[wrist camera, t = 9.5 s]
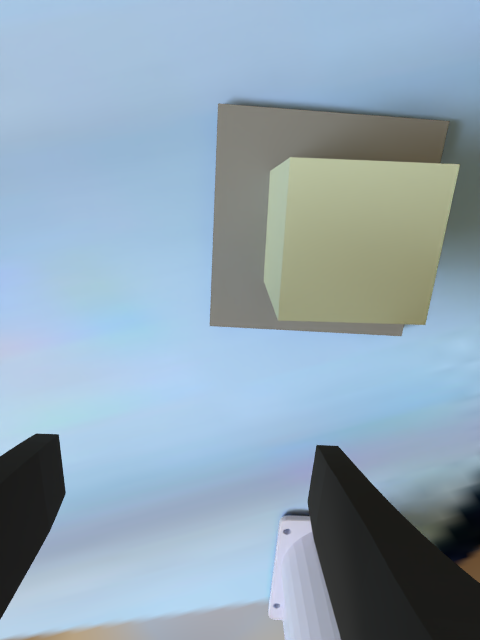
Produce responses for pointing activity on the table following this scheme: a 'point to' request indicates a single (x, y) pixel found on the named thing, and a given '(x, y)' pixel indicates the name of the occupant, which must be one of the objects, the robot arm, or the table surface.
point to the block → (355, 239)
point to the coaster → (253, 193)
